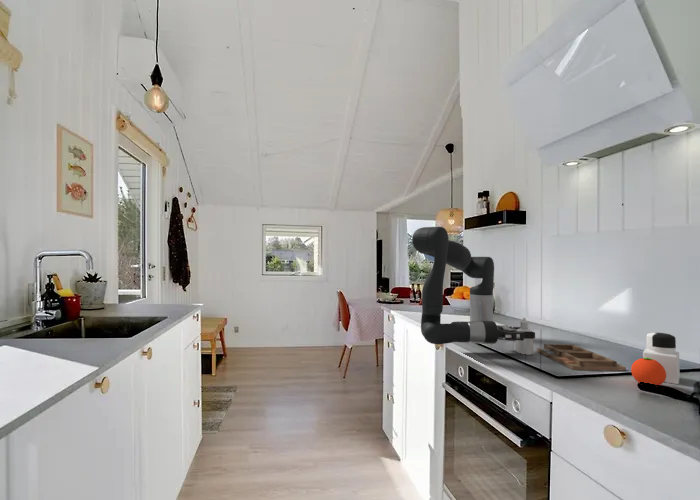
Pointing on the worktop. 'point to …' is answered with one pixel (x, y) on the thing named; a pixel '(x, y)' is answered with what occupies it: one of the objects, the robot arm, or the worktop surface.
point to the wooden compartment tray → (578, 358)
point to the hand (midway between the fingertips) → (528, 332)
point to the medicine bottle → (664, 354)
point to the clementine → (648, 371)
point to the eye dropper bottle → (526, 344)
